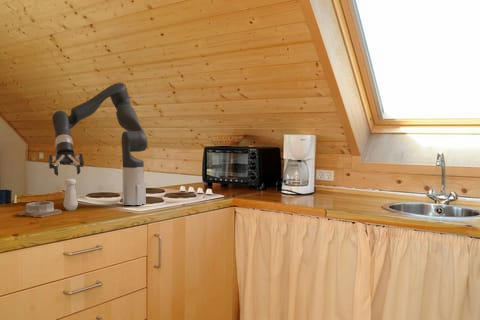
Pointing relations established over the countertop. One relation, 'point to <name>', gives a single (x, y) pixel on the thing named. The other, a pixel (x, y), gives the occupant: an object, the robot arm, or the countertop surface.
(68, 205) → the salt shaker
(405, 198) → the countertop surface
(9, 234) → the countertop surface
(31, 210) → the cup holder
